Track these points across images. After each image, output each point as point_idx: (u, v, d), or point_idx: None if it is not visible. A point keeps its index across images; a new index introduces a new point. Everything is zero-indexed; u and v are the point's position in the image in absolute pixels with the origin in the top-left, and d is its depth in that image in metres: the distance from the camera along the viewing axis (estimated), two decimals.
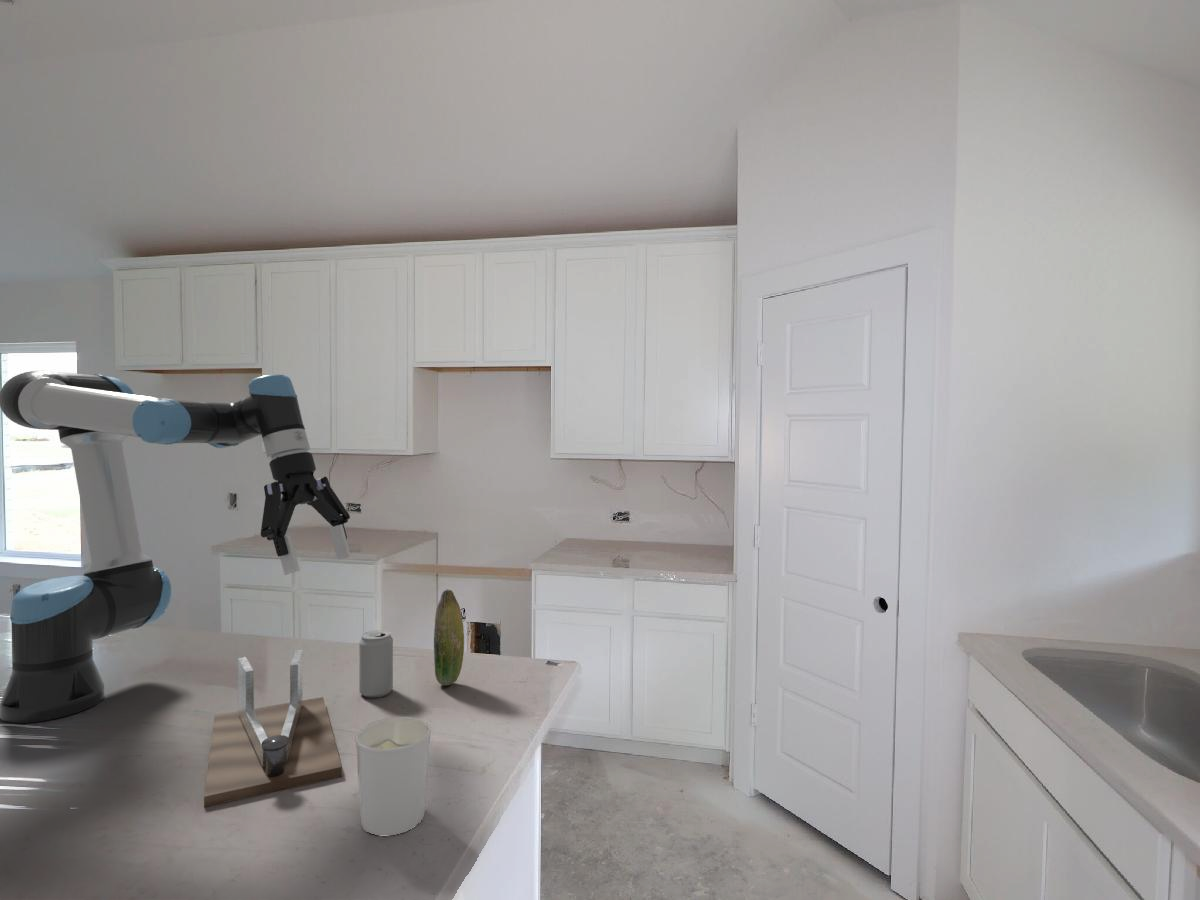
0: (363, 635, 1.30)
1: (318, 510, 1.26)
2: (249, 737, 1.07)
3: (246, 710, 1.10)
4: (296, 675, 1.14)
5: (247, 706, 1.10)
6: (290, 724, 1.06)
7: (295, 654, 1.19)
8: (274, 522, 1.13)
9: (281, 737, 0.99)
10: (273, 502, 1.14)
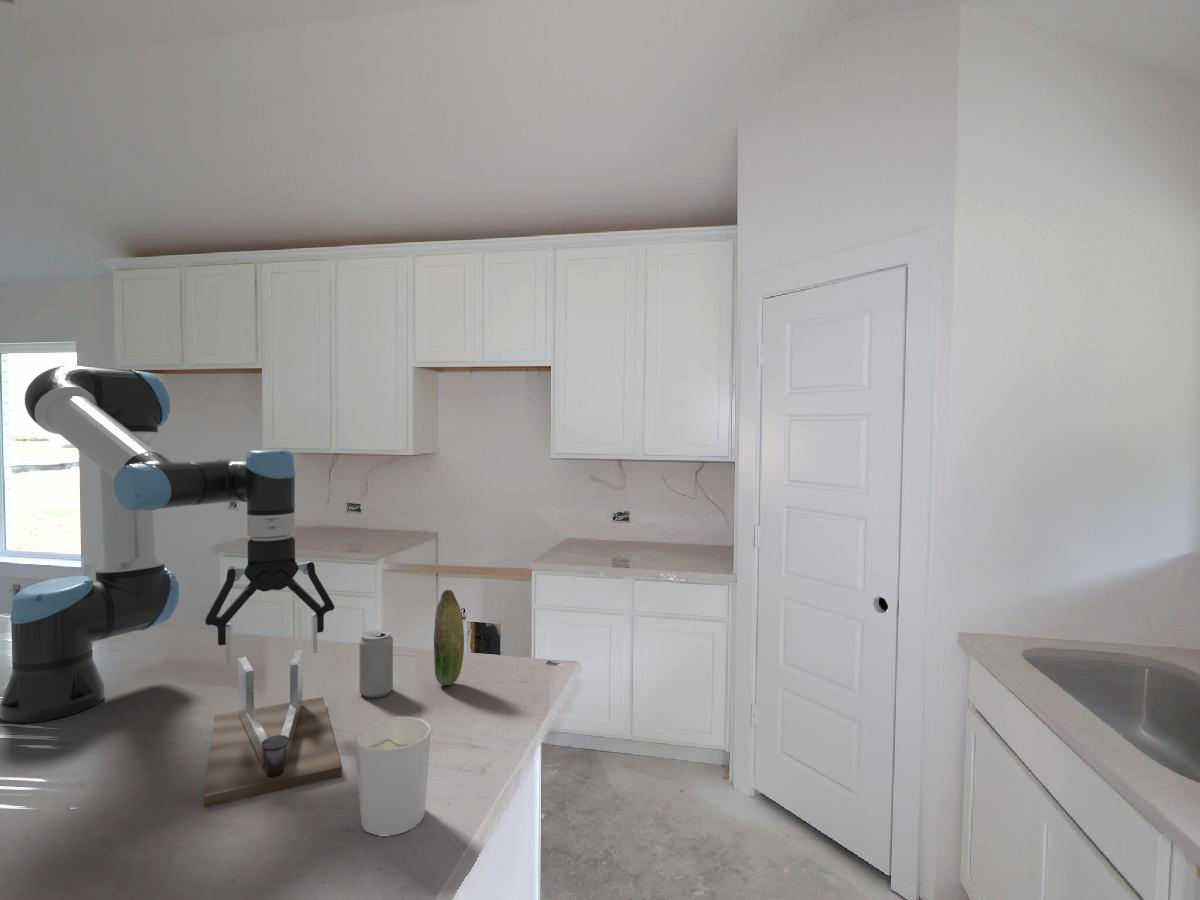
0: (363, 635, 1.30)
1: None
2: (249, 737, 1.07)
3: (246, 710, 1.10)
4: (296, 675, 1.14)
5: (247, 706, 1.10)
6: (290, 724, 1.06)
7: (295, 654, 1.19)
8: (213, 613, 1.10)
9: (281, 737, 0.99)
10: (221, 590, 1.11)
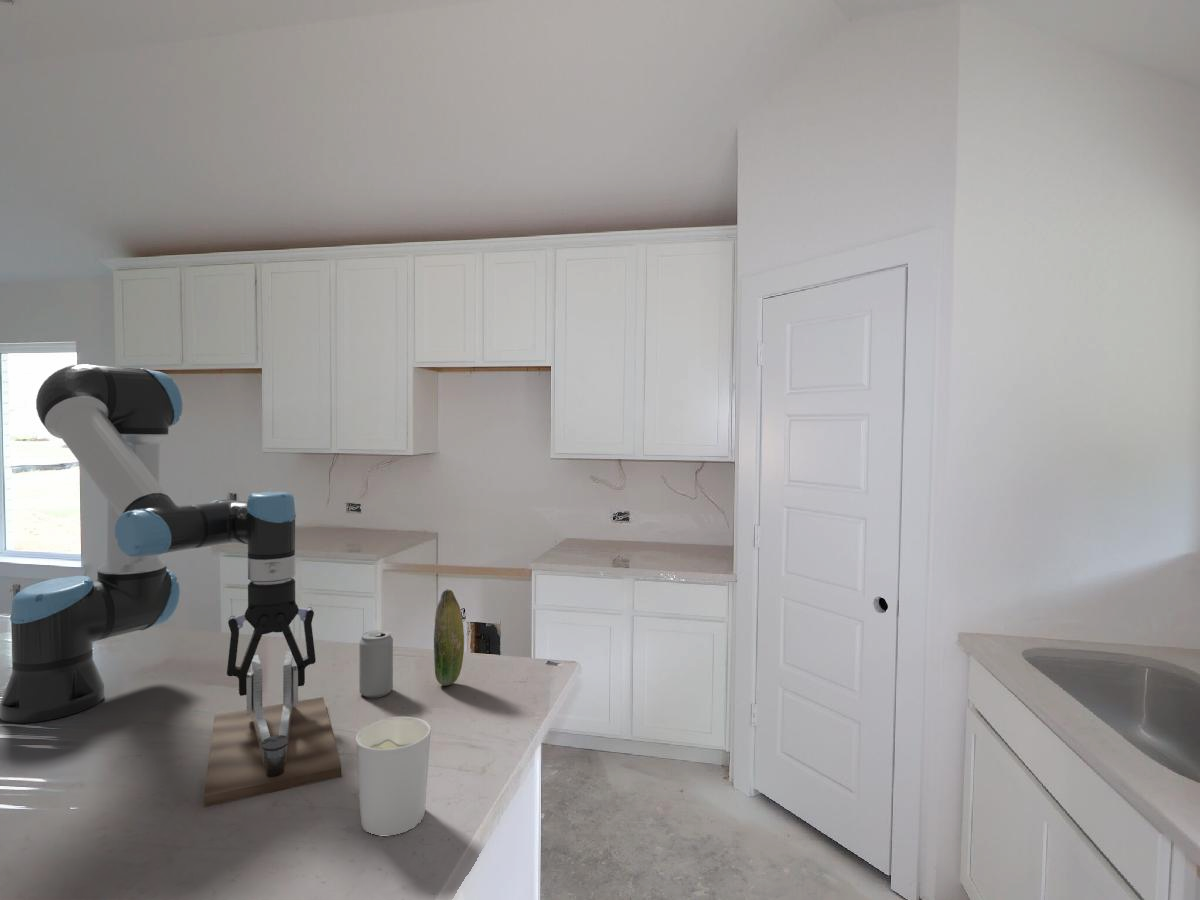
0: (363, 635, 1.30)
1: None
2: (256, 735, 1.08)
3: (255, 708, 1.11)
4: (289, 676, 1.13)
5: (256, 704, 1.11)
6: (286, 724, 1.06)
7: (286, 655, 1.18)
8: (231, 664, 1.12)
9: (281, 737, 0.99)
10: (230, 641, 1.12)
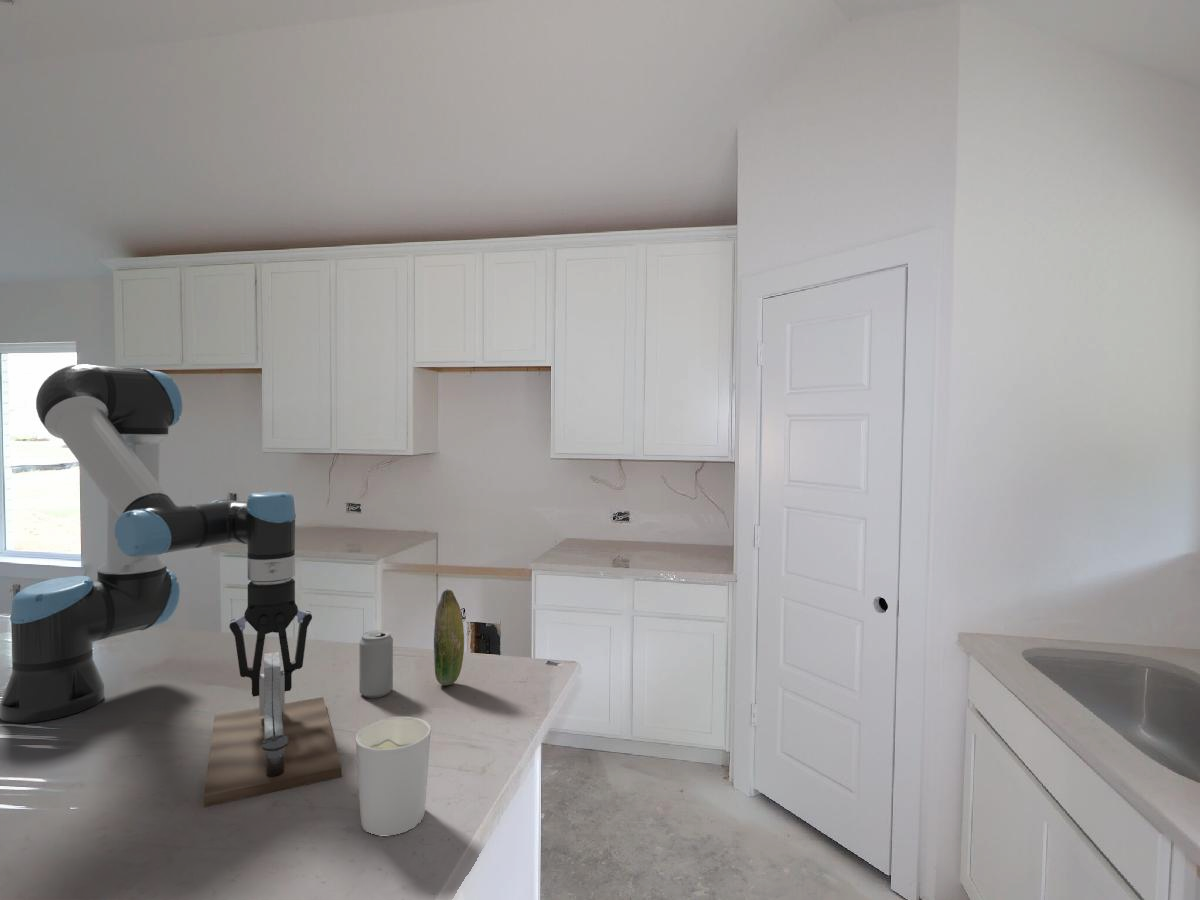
0: (363, 635, 1.30)
1: None
2: (264, 733, 1.09)
3: (265, 706, 1.12)
4: (279, 677, 1.13)
5: (265, 702, 1.12)
6: (281, 725, 1.05)
7: (273, 656, 1.17)
8: (242, 665, 1.12)
9: (281, 737, 0.99)
10: (236, 644, 1.12)
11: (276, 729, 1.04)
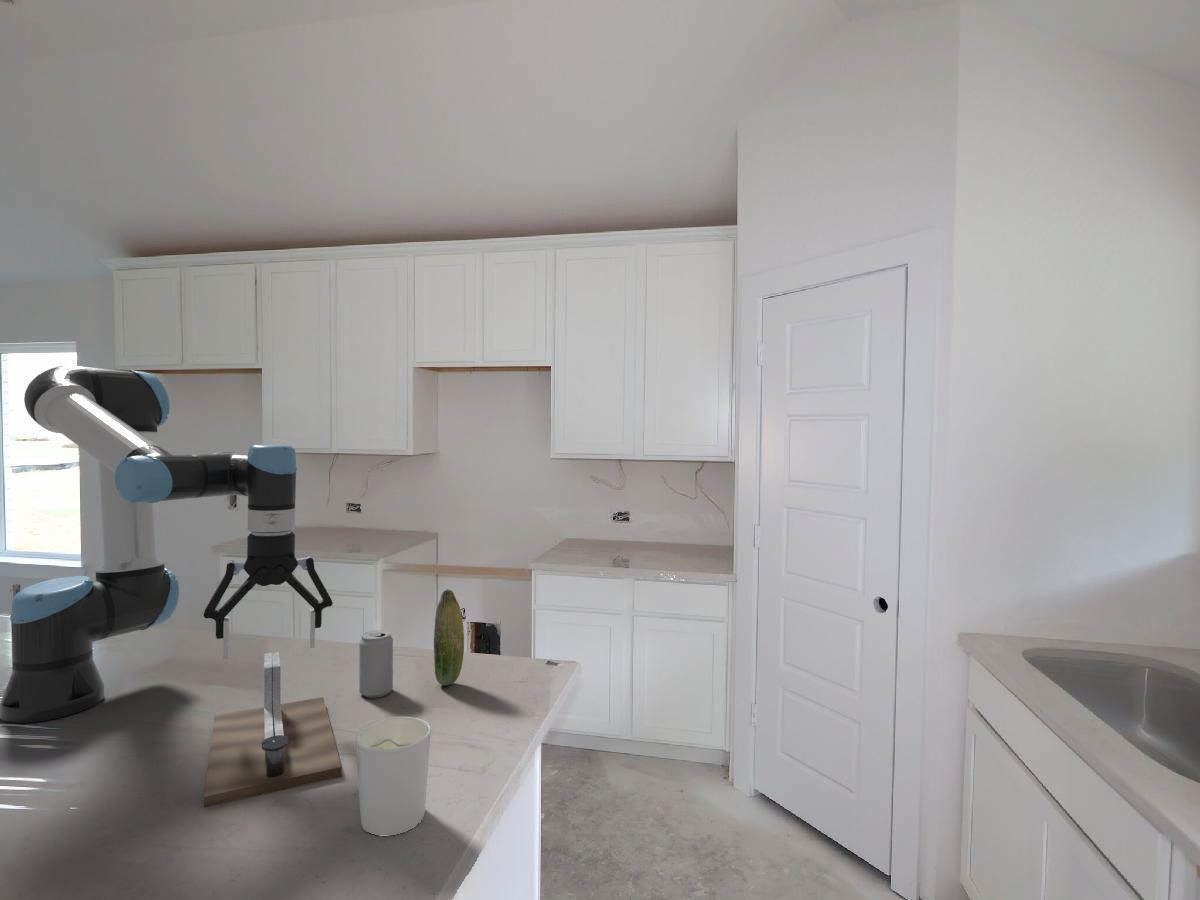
0: (363, 635, 1.30)
1: None
2: (264, 733, 1.09)
3: (265, 706, 1.12)
4: (279, 677, 1.13)
5: (265, 702, 1.12)
6: (281, 725, 1.05)
7: (273, 656, 1.17)
8: (211, 606, 1.10)
9: (281, 737, 0.99)
10: (220, 584, 1.11)
11: (276, 729, 1.04)
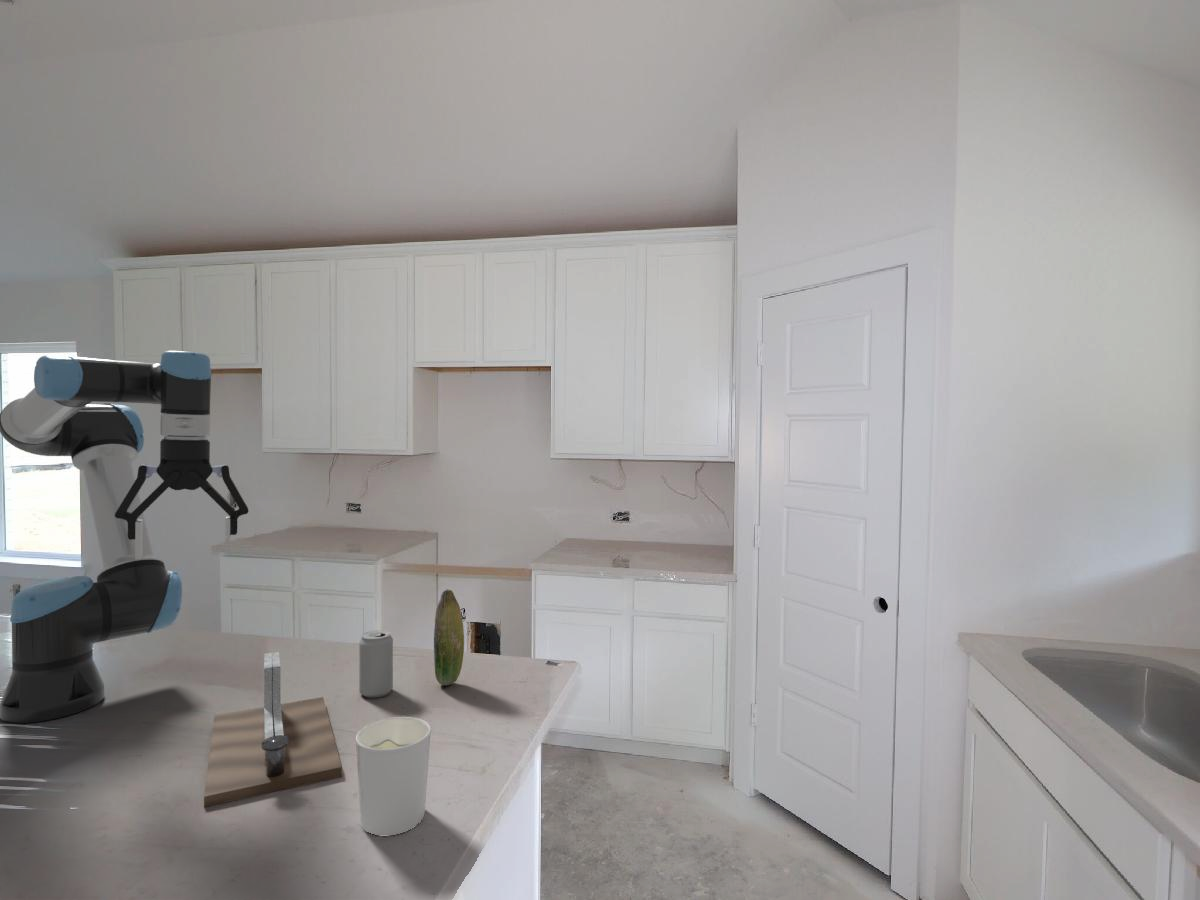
0: (363, 635, 1.30)
1: None
2: (264, 733, 1.09)
3: (265, 706, 1.12)
4: (279, 677, 1.13)
5: (265, 702, 1.12)
6: (281, 725, 1.05)
7: (273, 656, 1.17)
8: (123, 506, 1.12)
9: (281, 737, 0.99)
10: (132, 486, 1.13)
11: (276, 729, 1.04)
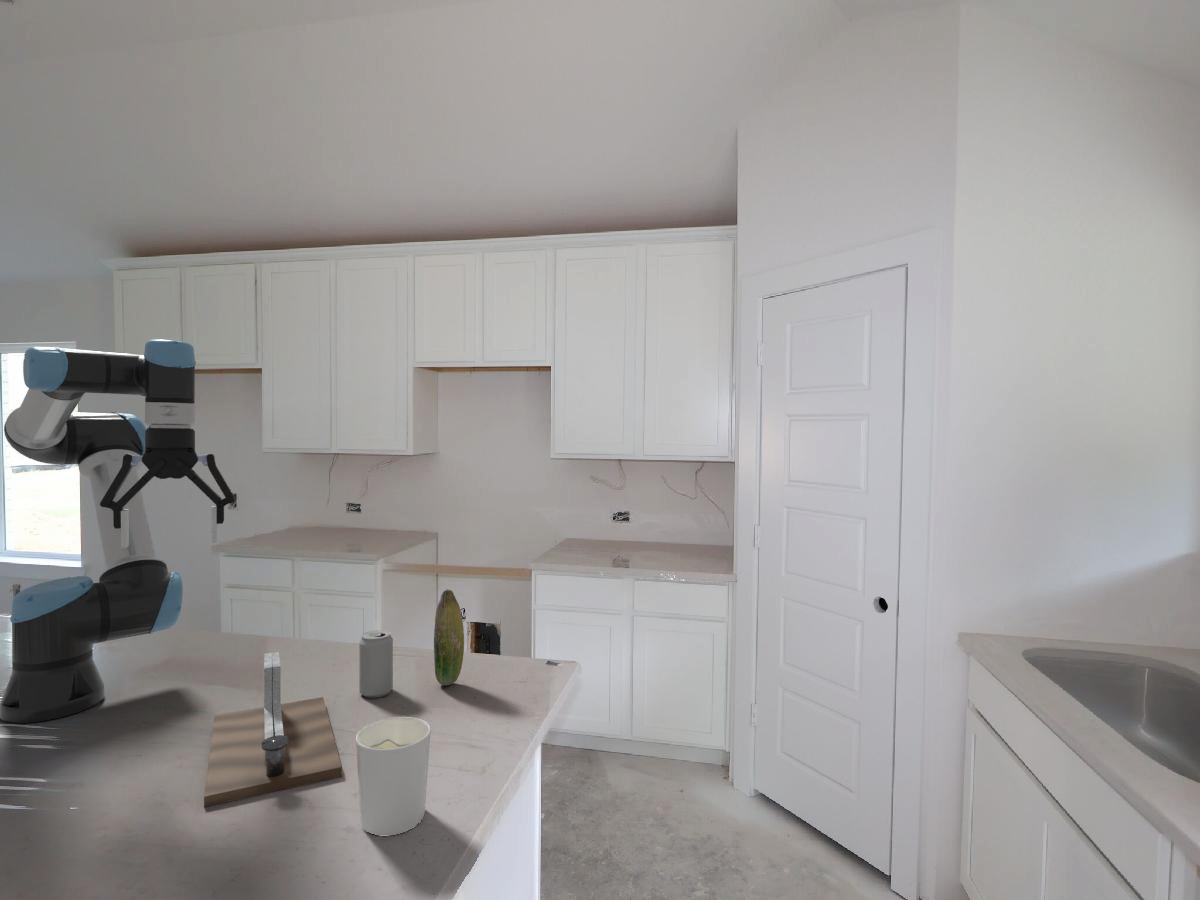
0: (363, 635, 1.30)
1: None
2: (264, 733, 1.09)
3: (265, 706, 1.12)
4: (279, 677, 1.13)
5: (265, 702, 1.12)
6: (281, 725, 1.05)
7: (273, 656, 1.17)
8: (108, 495, 1.13)
9: (281, 737, 0.99)
10: (117, 474, 1.13)
11: (276, 729, 1.04)
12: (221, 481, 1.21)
